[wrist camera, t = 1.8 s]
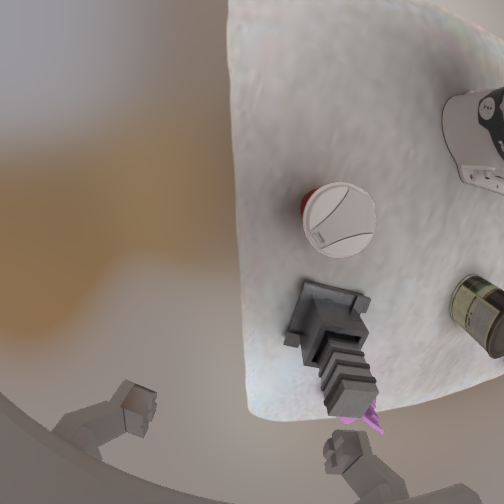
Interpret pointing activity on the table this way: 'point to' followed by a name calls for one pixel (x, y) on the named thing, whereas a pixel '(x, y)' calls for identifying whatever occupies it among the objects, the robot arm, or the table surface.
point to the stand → (325, 318)
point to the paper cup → (338, 219)
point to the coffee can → (480, 312)
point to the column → (344, 375)
